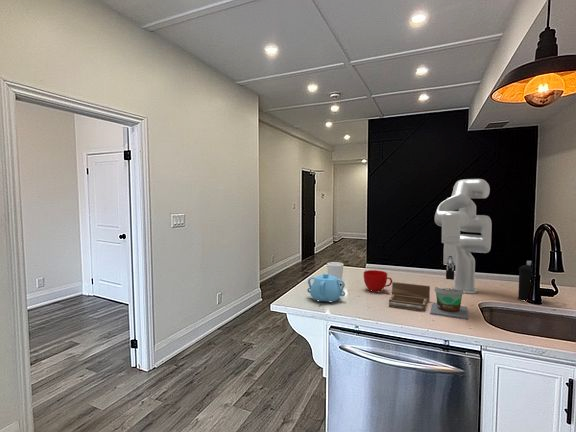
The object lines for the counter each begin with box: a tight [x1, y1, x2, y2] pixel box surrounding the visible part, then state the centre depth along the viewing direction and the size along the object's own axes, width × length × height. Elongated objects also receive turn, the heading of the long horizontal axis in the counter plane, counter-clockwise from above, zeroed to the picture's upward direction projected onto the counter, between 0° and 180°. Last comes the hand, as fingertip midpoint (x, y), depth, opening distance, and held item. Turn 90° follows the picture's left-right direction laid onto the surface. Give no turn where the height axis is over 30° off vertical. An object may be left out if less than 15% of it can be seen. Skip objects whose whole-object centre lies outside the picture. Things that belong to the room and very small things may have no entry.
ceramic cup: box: [363, 269, 393, 292], centre depth 181 cm, size 13×17×10 cm
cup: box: [326, 261, 344, 285], centre depth 195 cm, size 10×10×13 cm
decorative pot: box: [306, 272, 346, 302], centre depth 167 cm, size 16×16×14 cm
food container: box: [434, 286, 465, 312], centre depth 147 cm, size 12×6×10 cm, turn 72°
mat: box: [429, 301, 469, 321], centre depth 149 cm, size 16×15×1 cm
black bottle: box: [517, 260, 532, 301], centre depth 163 cm, size 8×8×20 cm
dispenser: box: [388, 281, 431, 312], centre depth 159 cm, size 17×18×8 cm
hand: (450, 276), depth 148 cm, fingers open, 9 cm apart
